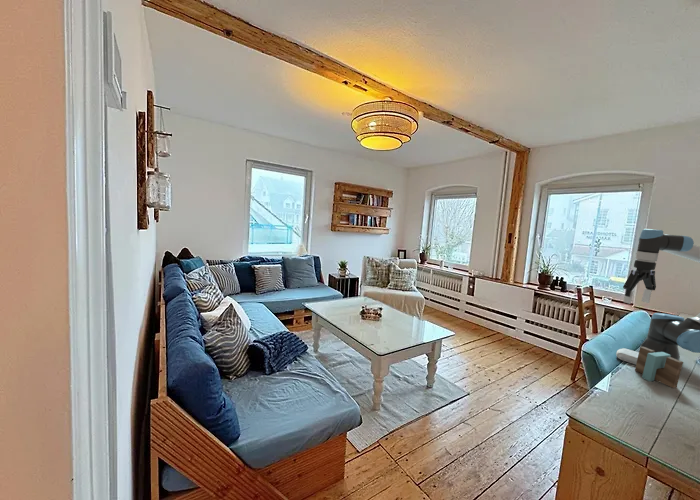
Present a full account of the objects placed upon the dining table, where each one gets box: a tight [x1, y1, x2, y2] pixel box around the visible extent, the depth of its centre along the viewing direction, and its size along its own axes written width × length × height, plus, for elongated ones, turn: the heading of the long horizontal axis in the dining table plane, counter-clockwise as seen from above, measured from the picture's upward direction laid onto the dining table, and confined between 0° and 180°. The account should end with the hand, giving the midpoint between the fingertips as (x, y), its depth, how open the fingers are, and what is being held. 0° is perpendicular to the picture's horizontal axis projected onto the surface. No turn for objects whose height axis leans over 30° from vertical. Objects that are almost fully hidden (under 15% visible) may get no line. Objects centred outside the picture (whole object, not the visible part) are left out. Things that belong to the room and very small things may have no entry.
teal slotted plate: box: [641, 352, 671, 382], centre depth 136 cm, size 10×3×12 cm, turn 106°
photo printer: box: [615, 348, 639, 366], centre depth 152 cm, size 10×4×12 cm
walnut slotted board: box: [634, 346, 684, 389], centre depth 136 cm, size 2×14×12 cm, turn 17°
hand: (636, 302), depth 149 cm, fingers open, 13 cm apart
